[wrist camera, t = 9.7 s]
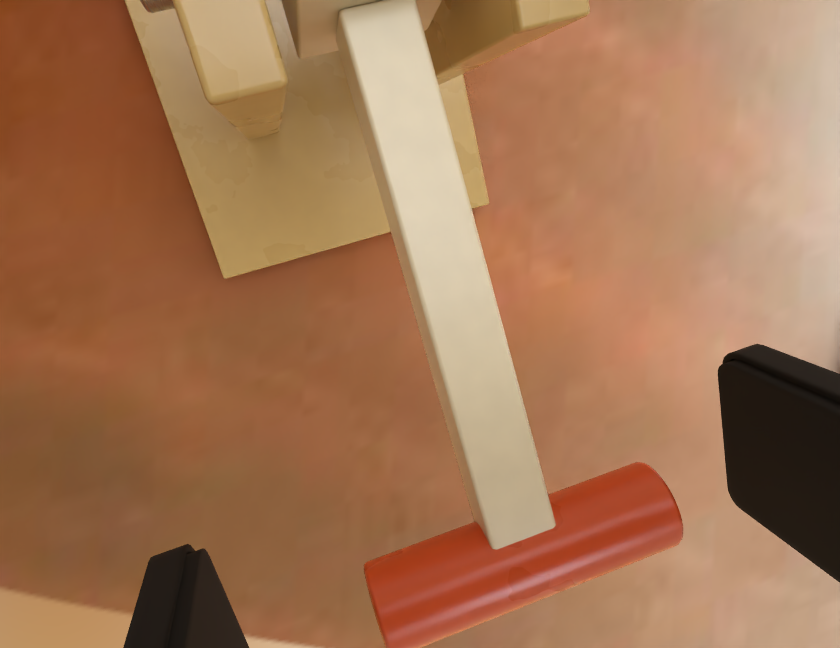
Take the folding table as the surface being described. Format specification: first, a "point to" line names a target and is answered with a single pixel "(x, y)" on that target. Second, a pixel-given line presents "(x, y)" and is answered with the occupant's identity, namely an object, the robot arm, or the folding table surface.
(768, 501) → the robot arm
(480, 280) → the lever
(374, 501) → the folding table surface
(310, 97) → the bracket
